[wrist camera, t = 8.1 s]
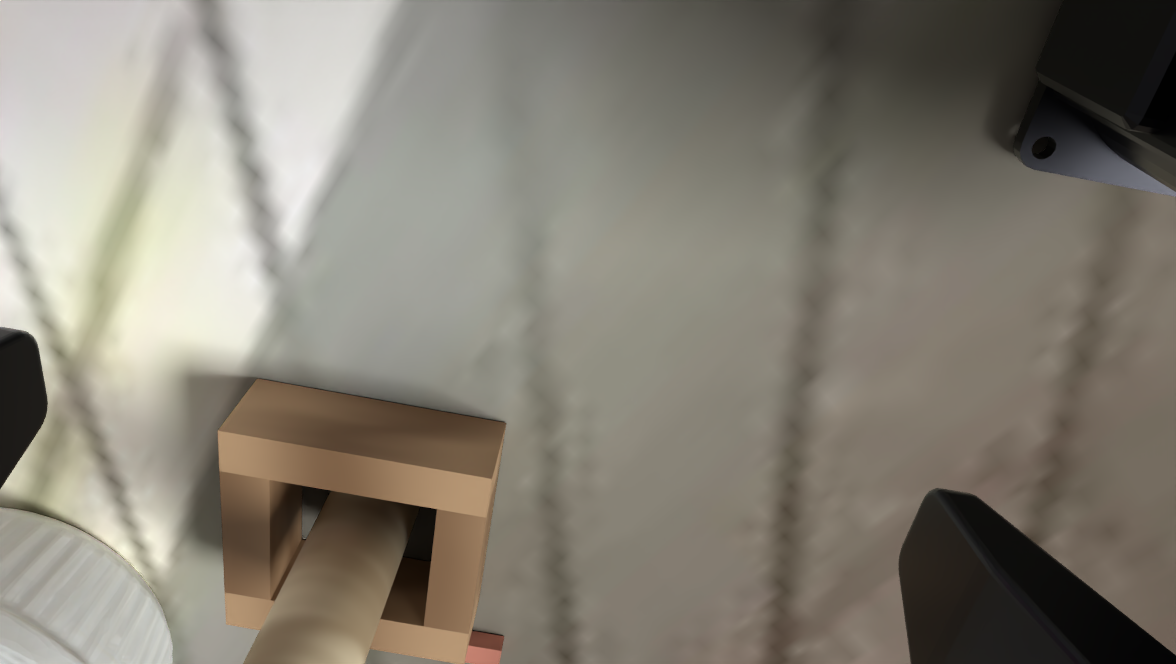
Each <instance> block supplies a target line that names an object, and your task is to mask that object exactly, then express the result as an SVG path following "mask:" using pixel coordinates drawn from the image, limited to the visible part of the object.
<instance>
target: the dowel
mask: <svg viewBox="0 0 1176 664" xmlns="http://www.w3.org/2000/svg"><path fill="white" fill-rule="evenodd" d="M419 507H420V506H416V505H411V504H405V503H399V502H393V501H388V500H382V499H376V498H371V497H365V496H359V495H353V494H348V493H342V492H336V491H330V493H329V495H328V497H327V499H326V501H325V503H324V505H323V507H322V509H321V511H320V513H319V515H318V517H317V519H316V521H315V523H314V525H313V527H312V529H311V531H310V533H309V535H308V537H307V539H306V541H305V543H304V545H303V547H302V549H301V551H300V553H299V555H298V557H297V559H296V561H295V562H294V564H293V566H292V568H291V570H290V572H289V574H288V576H287V578H286V580H285V582H284V584H283V586H282V588H281V590H280V592H279V594H278V596H277V598H276V600H275V602H274V604H273V606H272V608H271V610H270V612H269V614H268V616H267V618H266V620H265V622H264V624H263V626H262V628H261V630H260V632H259V633H258V635H257V637H256V639H255V641H254V643H253V645H252V647H251V649H250V651H249V653H248V655H247V657H246V659H245V661H244V663H243V664H364V663H365V660H366V658H367V655H368V652H369V649H370V646H371V643H372V641H373V638H374V635H375V632H376V629H377V627H378V624H379V621H380V618H381V615H382V612H383V610H384V607H385V604H386V601H387V598H388V596H389V593H390V590H391V587H392V584H393V582H394V579H395V576H396V573H397V570H398V567H399V565H400V562H401V559H402V556H403V553H404V551H405V548H406V545H407V542H408V539H409V537H410V534H411V531H412V528H413V525H414V522H415V520H416V517H417V514H418V511H419Z"/></svg>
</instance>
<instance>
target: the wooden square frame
mask: <svg viewBox="0 0 1176 664" xmlns="http://www.w3.org/2000/svg"><path fill="white" fill-rule="evenodd" d="M505 428H506V423H504V422H498V421H492V420H487V419H481V418H476V417H470V416H464V415H459V414H453V413H448V412H442V411H436V410H431V409H425V408H420V407H414V406H408V405H403V404H397V403H392V402H386V401H380V400H375V399H369V398H364V397H358V396H353V395H347V394H341V393H336V392H330V391H325V390H319V389H313V388H308V387H302V386H297V385H291V384H285V383H280V382H274V381H269V380H263V379H256V381H255V382H254V383H253V385H252V386H251V387H250V389H249V390H248V391H247V393H246V394H245V395H244V397H243V398H242V399H241V400H240V402H239V403H238V404H237V406H236V407H235V408H234V410H233V411H232V412H231V414H230V415H229V416H228V418H227V419H226V420H225V422H224V423H223V424H222V426H221V427H220V428H219V429H218V450H219V473H220V495H221V518H222V540H223V563H224V585H225V608H226V624H227V625H233V626H238V627H244V628H250V629H256V630H261V628H262V626H263V624H264V622H265V620H266V618H267V616H268V614H269V612H270V610H271V608H272V606H273V604H274V602H275V600H276V598H277V596H278V594H279V592H280V590H281V588H282V586H283V584H284V582H285V580H286V578H287V576H288V574H289V572H290V570H291V568H292V566H293V564H294V562H295V561H296V559H297V557H298V555H299V553H300V551H301V549H302V547H303V545H304V543H305V541H306V540H301V539H302V486H308V487H314V488H319V489H325V490H331V491H336V492H342V493H348V494H353V495H359V496H365V497H371V498H376V499H382V500H388V501H393V502H399V503H405V504H411V505H416V506H422V507H428V508H433V509H437V514H436V523H435V532H434V540H433V549H432V558H431V562H428V561H422V560H416V559H410V558H405V557H402V559H401V562H400V565H399V567H398V570H397V573H396V576H395V579H394V582H393V584H392V587H391V590H390V593H389V596H388V598H387V601H386V604H385V607H384V610H383V612H382V615H381V618H380V621H379V624H378V627H377V629H376V632H375V635H374V638H373V641H372V643H371V646H370V649H374V650H380V651H386V652H391V653H397V654H403V655H409V656H415V657H421V658H427V659H433V660H438V661H444V662H450V663H456V664H464V663H465V662H467V663H473V664H499V662H500V656H501V651H502V645H503V640H504V636H499V635H493V634H487V633H482V632H476V631H472V628H473V623H474V619H475V615H476V610H477V606H478V601H479V595H480V589H481V582H482V576H483V570H484V563H485V557H486V550H487V544H488V537H489V531H490V525H491V518H492V512H493V505H494V499H495V492H496V486H497V479H498V473H499V467H500V460H501V454H502V447H503V441H504V434H505Z"/></svg>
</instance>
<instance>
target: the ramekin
mask: <svg viewBox="0 0 1176 664" xmlns="http://www.w3.org/2000/svg"><path fill="white" fill-rule="evenodd" d="M172 651H173V645H172V641H171V637H170V631H169V628H168V626H167V622H166V618H165V615H164V612H163V610H162V607H161V605H160V603H159V601H158V599H157V598H156V596H155V594H154V593H153V591H152V590H151V588H150V587H149V585H148V584H147V583H146V581H145V580H144V579H143V578H142V577H141V575H140V574H139V573H138V572H137V571H136V570H135V569H134V568H133V567H132V566H131V565H130V564H129V563H128V562H127V561H126V560H125V559H124V558H122V557H121V556H120V555H119V554H117V553H116V552H115V551H113V550H112V549H111V548H109V547H108V546H107V545H105V544H104V543H102V542H101V541H99V540H97V539H96V538H94V537H92V536H91V535H89V534H87V533H85V532H84V531H82V530H80V529H78V528H75V527H73V526H71V525H69V524H66V523H64V522H61V521H59V520H56V519H53V518H50V517H47V516H43V515H40V514H37V513H33V512H29V511H24V510H18V509H12V508H1V507H0V664H172V661H173V657H172Z"/></svg>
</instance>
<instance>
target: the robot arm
mask: <svg viewBox="0 0 1176 664" xmlns="http://www.w3.org/2000/svg"><path fill="white" fill-rule="evenodd" d="M1036 72H1037V75H1038V77H1039V79H1040V81H1039V83H1038V86H1037V88H1036V90H1035V93H1034V95H1033V97H1032V100H1031V102H1030V104H1029V107H1028V109H1027V111H1026V114H1025V116H1024V119H1023V121H1022V123H1021V126H1020V128H1019V130H1018V133H1017V135H1016V137H1015V141H1014V146H1013V149H1014V153H1015V156H1016V157H1017V158H1018V159H1019V160H1020V161H1021V162H1022V163H1023V164H1024V165H1026V166H1027V167H1029V168H1032V169H1034V170H1039V171H1044V172H1049V173H1055V174H1060V175H1065V176H1070V177H1076V178H1081V179H1086V180H1091V181H1097V182H1102V183H1107V184H1112V185H1118V186H1123V187H1128V188H1133V189H1138V190H1144V191H1149V192H1154V193H1159V194H1165V195H1170V196H1175V197H1176V0H1064V1H1063V3H1062V6H1061V8H1060V10H1059V13H1058V15H1057V18H1056V20H1055V22H1054V25H1053V27H1052V30H1051V32H1050V34H1049V37H1048V39H1047V41H1046V44H1045V46H1044V49H1043V51H1042V53H1041V56H1040V58H1039V61H1038V63H1037V65H1036ZM1041 137H1048V138H1049V142H1048V146H1047V147H1046V148H1045V150H1043V151H1042V152H1040V153H1038V154H1032V146H1033V144H1034V143H1035V142H1036V140H1038V139H1040V138H1041ZM47 405H48V402H47V394H46V388H45V382H44V377H43V371H42V365H41V359H40V354H39V348H38V344H37V342H36V340H35V339H34V337H33V336H32V335H31V334H29V333H28V332H26V331H22V330H16V329H10V328H5V327H0V489H1V487H2V486H3V484H4V483H5V481H6V480H7V478H8V477H9V475H10V474H11V472H12V470H13V469H14V467H15V466H16V464H17V463H18V461H19V460H20V458H21V457H22V455H23V454H24V452H25V451H26V449H27V448H28V446H29V445H30V443H31V442H32V440H33V439H34V437H35V435H36V434H37V432H38V431H39V429H40V428H41V426H42V424H43V422H44V419H45V417H46V413H47ZM899 577H900V585H901V592H902V600H903V608H904V615H905V623H906V630H907V638H908V645H909V653H910V660H911V664H1176V655H1175V654H1173V653H1172V652H1171V651H1170V650H1168V649H1167V648H1166V647H1165V646H1163V645H1162V644H1161V643H1160V642H1158V641H1157V640H1156V639H1154V638H1153V637H1152V636H1151V635H1149V634H1148V633H1147V632H1146V631H1144V630H1143V629H1142V628H1141V627H1139V626H1138V625H1137V624H1136V623H1134V622H1133V621H1132V620H1131V619H1129V618H1128V617H1127V616H1126V615H1124V614H1123V613H1122V612H1121V611H1119V610H1118V609H1117V608H1116V607H1114V606H1113V605H1112V604H1111V603H1109V602H1108V601H1107V600H1106V599H1104V598H1103V597H1102V596H1101V595H1099V594H1098V593H1097V592H1096V591H1094V590H1093V589H1092V588H1091V587H1089V586H1088V585H1087V584H1086V583H1084V582H1083V581H1082V580H1081V579H1079V578H1078V577H1077V576H1076V575H1074V574H1073V573H1072V572H1071V571H1069V570H1068V569H1067V568H1066V567H1064V566H1063V565H1062V564H1061V563H1059V562H1058V561H1057V560H1056V559H1054V558H1053V557H1052V556H1051V555H1049V554H1048V553H1047V552H1046V551H1044V550H1043V549H1042V548H1041V547H1039V546H1038V545H1037V544H1036V543H1034V542H1033V541H1032V540H1031V539H1029V538H1028V537H1027V536H1026V535H1024V534H1023V533H1022V532H1021V531H1019V530H1018V529H1017V528H1016V527H1014V526H1013V525H1012V524H1011V523H1009V522H1008V521H1007V520H1006V519H1004V518H1003V517H1002V516H1001V515H999V514H998V513H997V512H996V511H994V510H993V509H992V508H991V507H989V506H988V505H987V504H986V503H984V502H983V501H982V500H981V499H979V498H978V497H977V496H975V495H973V494H970V493H965V492H959V491H953V490H947V489H941V488H936V489H933V490H931V491H929V492H928V494H927V495H926V496H925V498H924V499H923V501H922V503H921V506H920V508H919V510H918V512H917V514H916V517H915V519H914V521H913V523H912V525H911V528H910V530H909V532H908V534H907V536H906V539H905V541H904V543H903V545H902V548H901V552H900V556H899Z"/></svg>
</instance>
